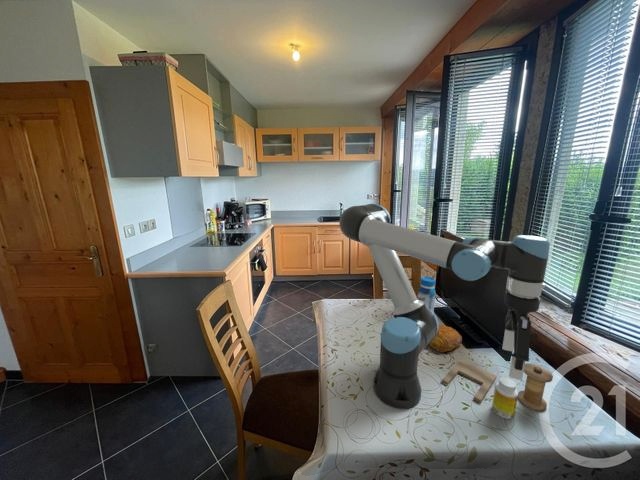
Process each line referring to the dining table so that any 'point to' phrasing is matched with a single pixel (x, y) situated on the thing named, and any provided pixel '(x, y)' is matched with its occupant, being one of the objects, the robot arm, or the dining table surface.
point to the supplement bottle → (505, 398)
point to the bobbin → (535, 387)
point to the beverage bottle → (427, 292)
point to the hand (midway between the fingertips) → (511, 363)
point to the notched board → (472, 377)
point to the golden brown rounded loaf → (446, 339)
